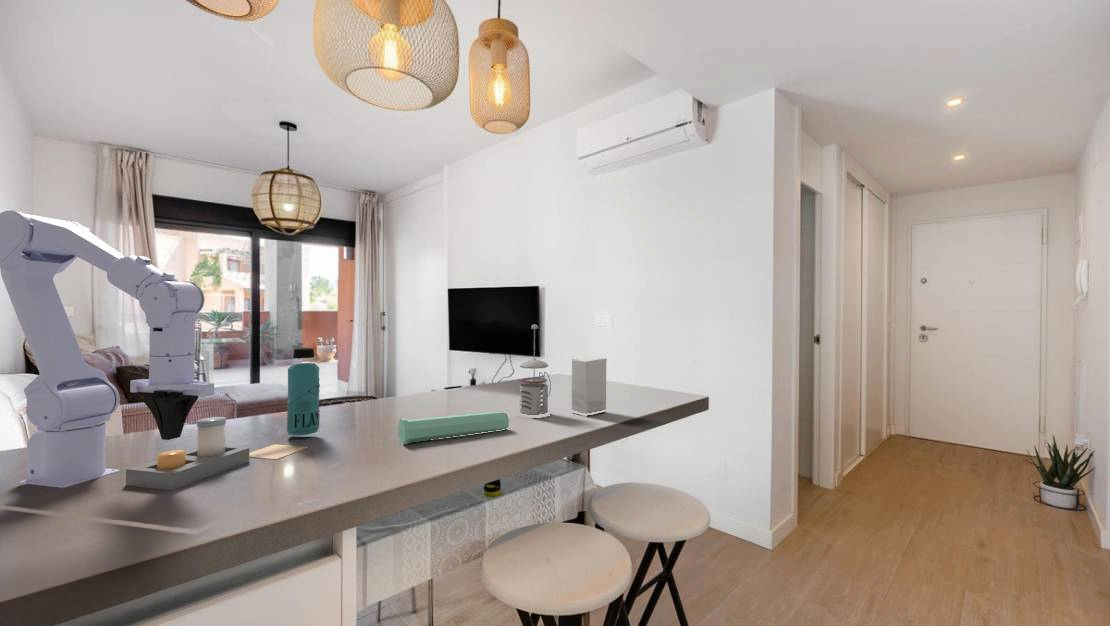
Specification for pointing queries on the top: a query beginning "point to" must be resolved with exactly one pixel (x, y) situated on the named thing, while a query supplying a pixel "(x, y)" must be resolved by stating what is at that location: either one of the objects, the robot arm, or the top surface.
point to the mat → (275, 451)
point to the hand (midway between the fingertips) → (171, 438)
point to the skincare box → (589, 384)
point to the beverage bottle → (303, 395)
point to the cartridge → (211, 436)
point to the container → (450, 426)
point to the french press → (534, 388)
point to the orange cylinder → (171, 459)
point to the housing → (186, 469)
